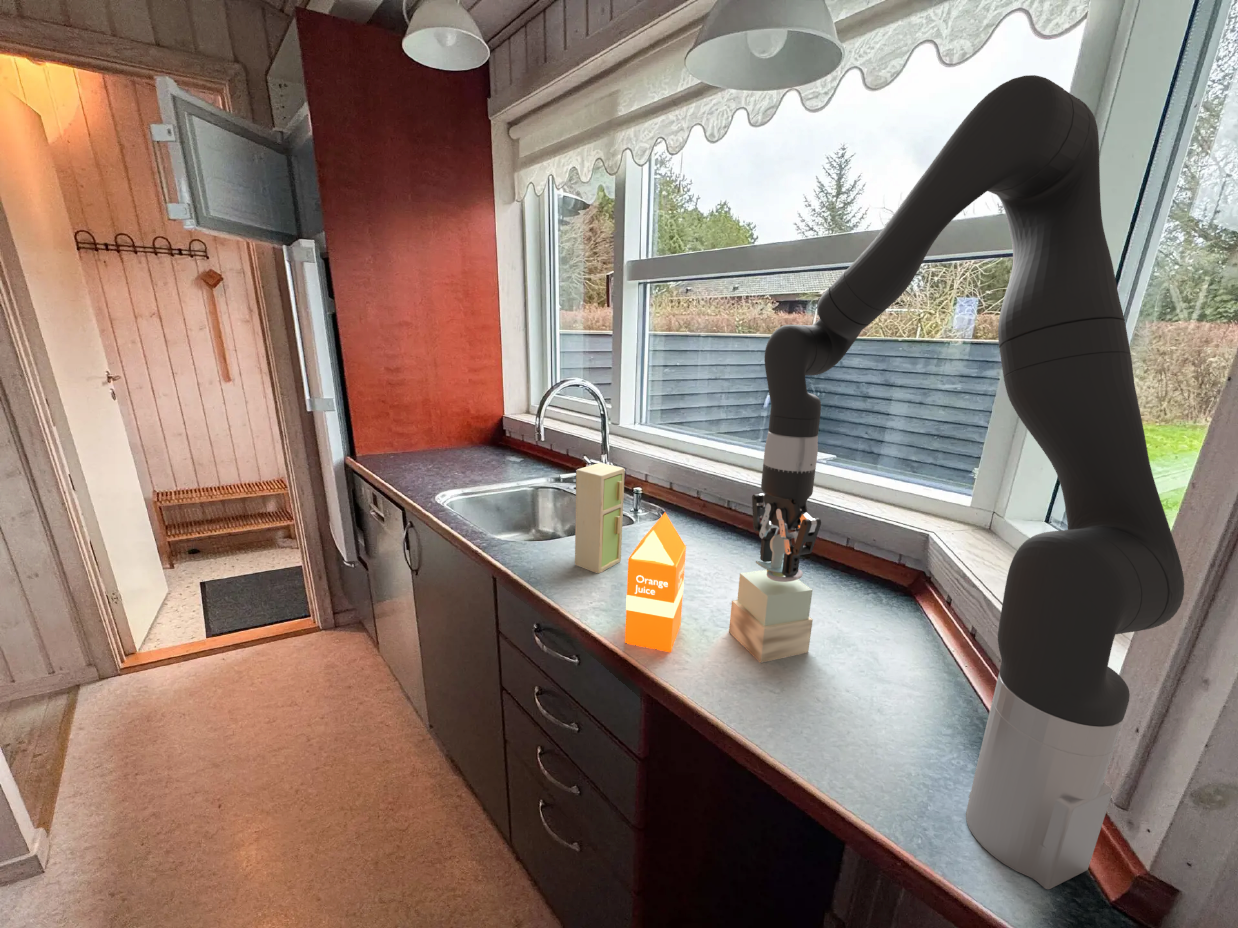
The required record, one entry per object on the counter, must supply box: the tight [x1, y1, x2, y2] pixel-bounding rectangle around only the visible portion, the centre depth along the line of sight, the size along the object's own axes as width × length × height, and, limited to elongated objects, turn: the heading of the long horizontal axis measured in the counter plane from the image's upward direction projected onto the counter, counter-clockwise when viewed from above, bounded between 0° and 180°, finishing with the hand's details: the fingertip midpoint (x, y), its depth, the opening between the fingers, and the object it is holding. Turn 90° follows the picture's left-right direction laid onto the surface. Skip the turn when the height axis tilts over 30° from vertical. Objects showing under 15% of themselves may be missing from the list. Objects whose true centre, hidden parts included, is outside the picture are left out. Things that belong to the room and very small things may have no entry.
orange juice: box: [624, 512, 687, 653], centre depth 87 cm, size 8×9×20 cm
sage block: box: [736, 569, 813, 626], centre depth 86 cm, size 8×8×5 cm
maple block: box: [728, 599, 814, 664], centre depth 88 cm, size 9×9×6 cm
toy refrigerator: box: [574, 462, 626, 574], centre depth 112 cm, size 8×7×21 cm
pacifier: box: [755, 534, 804, 582], centre depth 84 cm, size 7×6×6 cm
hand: (777, 567), depth 85 cm, fingers closed on pacifier, 5 cm apart
